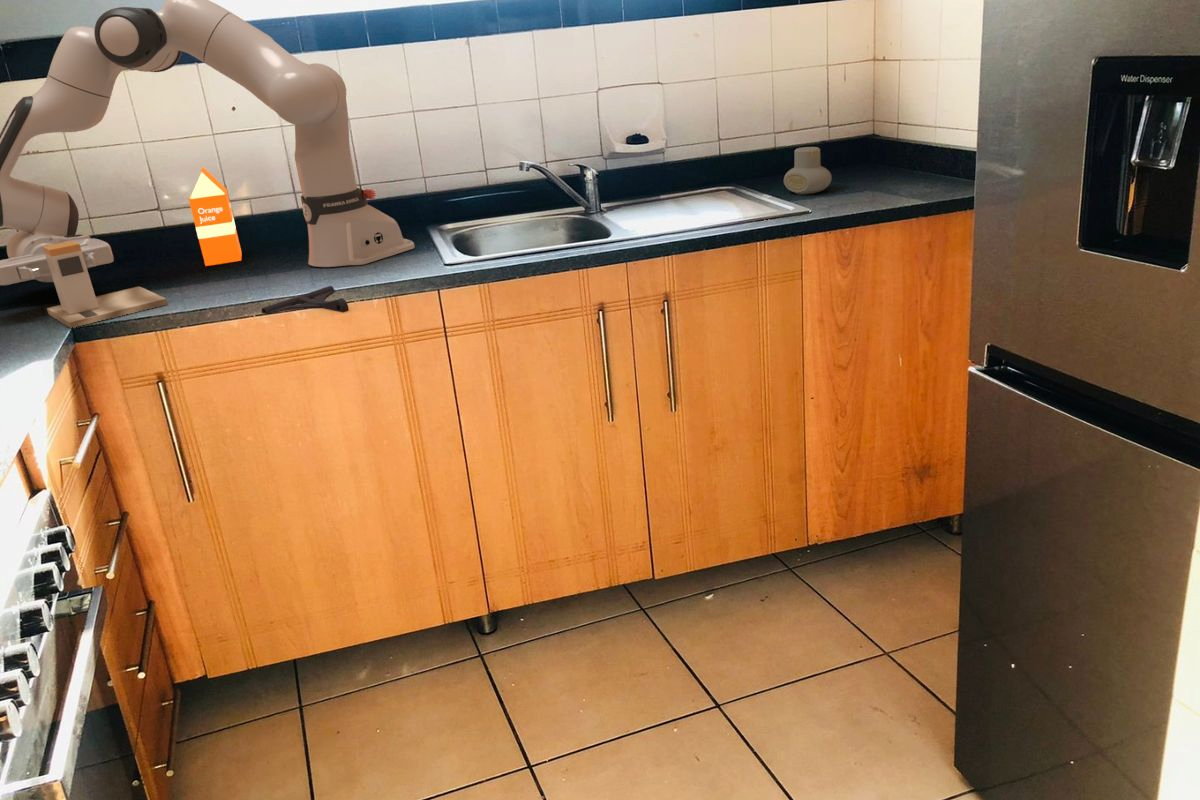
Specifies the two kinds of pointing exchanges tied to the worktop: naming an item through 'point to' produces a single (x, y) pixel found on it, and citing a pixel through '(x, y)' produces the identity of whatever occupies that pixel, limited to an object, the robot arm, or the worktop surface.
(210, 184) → the orange juice
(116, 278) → the worktop surface
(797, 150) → the air freshener
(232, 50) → the robot arm
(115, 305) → the subfloor panel
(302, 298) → the bracket
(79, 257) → the orange-capped beige carton
